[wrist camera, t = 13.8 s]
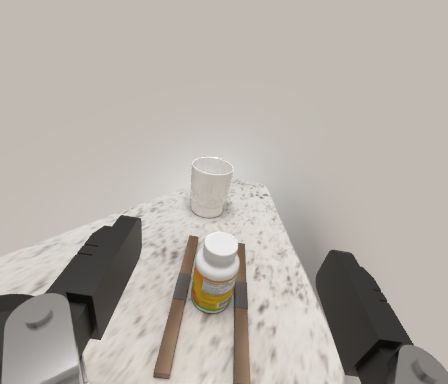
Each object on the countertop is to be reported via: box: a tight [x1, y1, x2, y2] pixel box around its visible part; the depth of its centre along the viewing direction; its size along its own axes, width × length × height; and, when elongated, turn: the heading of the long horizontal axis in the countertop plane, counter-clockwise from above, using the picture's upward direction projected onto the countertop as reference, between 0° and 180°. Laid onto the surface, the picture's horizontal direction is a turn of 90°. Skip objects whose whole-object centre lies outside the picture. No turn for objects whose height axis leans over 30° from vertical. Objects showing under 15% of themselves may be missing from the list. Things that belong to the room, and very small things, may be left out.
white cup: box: [191, 157, 234, 218], centre depth 47 cm, size 8×8×10 cm
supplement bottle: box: [191, 232, 240, 313], centre depth 30 cm, size 5×5×10 cm
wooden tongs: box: [154, 236, 250, 384], centre depth 32 cm, size 10×20×1 cm, turn 177°
